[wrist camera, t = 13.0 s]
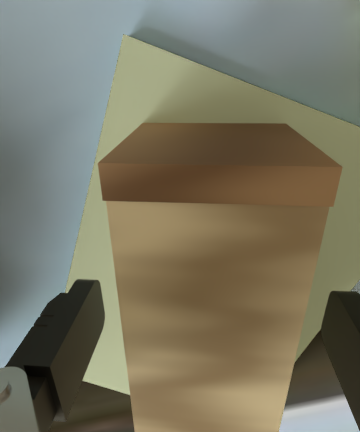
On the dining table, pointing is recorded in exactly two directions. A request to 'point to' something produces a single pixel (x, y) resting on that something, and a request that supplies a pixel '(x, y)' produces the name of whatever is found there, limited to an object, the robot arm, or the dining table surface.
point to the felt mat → (209, 113)
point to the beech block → (214, 267)
